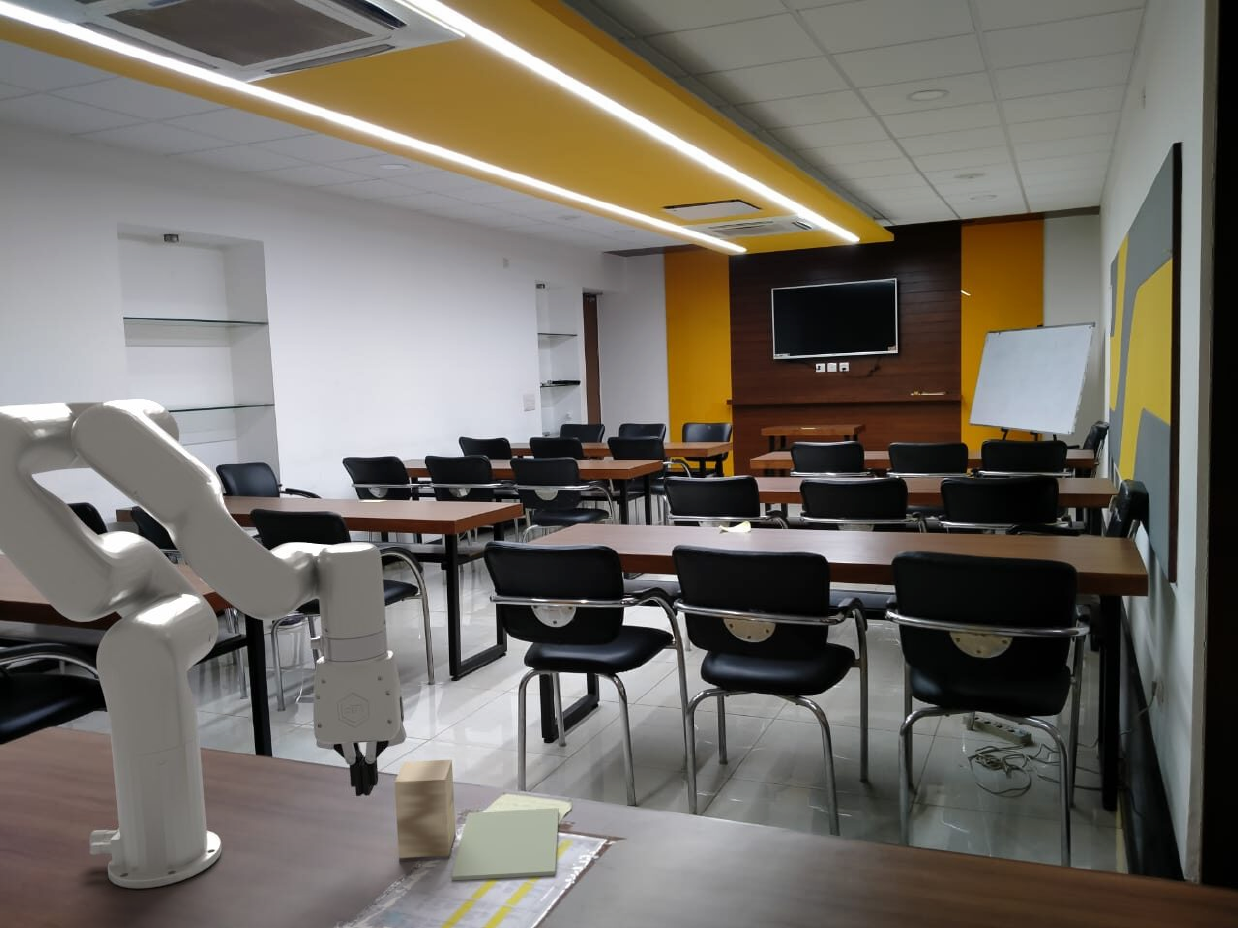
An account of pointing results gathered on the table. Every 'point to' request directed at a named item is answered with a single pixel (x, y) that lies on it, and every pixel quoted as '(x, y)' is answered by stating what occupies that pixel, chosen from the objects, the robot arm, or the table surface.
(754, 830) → the table surface
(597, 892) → the table surface
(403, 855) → the maple block
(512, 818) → the rubber mat
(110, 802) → the table surface
